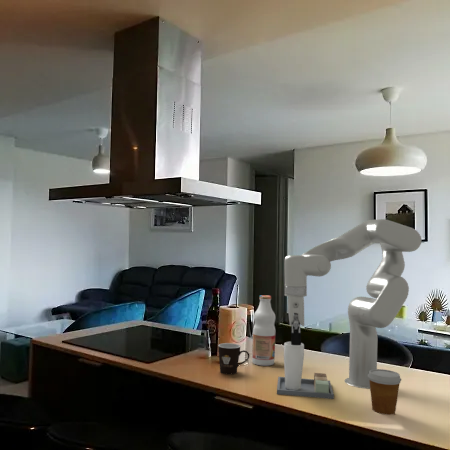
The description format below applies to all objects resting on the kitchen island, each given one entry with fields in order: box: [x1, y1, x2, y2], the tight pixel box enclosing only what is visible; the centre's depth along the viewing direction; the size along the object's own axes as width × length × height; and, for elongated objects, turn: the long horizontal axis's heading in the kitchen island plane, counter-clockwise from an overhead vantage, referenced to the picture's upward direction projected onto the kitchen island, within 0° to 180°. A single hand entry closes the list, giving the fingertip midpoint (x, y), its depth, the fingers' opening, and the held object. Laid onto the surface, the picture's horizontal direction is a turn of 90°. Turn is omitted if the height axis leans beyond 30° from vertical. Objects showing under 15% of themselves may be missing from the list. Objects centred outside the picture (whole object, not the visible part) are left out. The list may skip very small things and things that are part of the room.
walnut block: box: [313, 372, 328, 388], centre depth 154 cm, size 4×4×4 cm
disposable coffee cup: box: [368, 368, 402, 416], centre depth 134 cm, size 10×10×12 cm
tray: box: [276, 376, 335, 400], centre depth 151 cm, size 18×15×2 cm
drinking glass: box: [283, 341, 305, 390], centre depth 151 cm, size 7×7×15 cm
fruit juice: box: [251, 295, 276, 367], centre depth 187 cm, size 9×9×28 cm
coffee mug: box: [217, 342, 250, 375], centre depth 171 cm, size 12×9×10 cm
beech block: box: [315, 376, 329, 383], centre depth 150 cm, size 4×4×4 cm
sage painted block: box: [315, 380, 329, 393], centre depth 145 cm, size 4×4×4 cm
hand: (295, 341), depth 152 cm, fingers open, 9 cm apart
